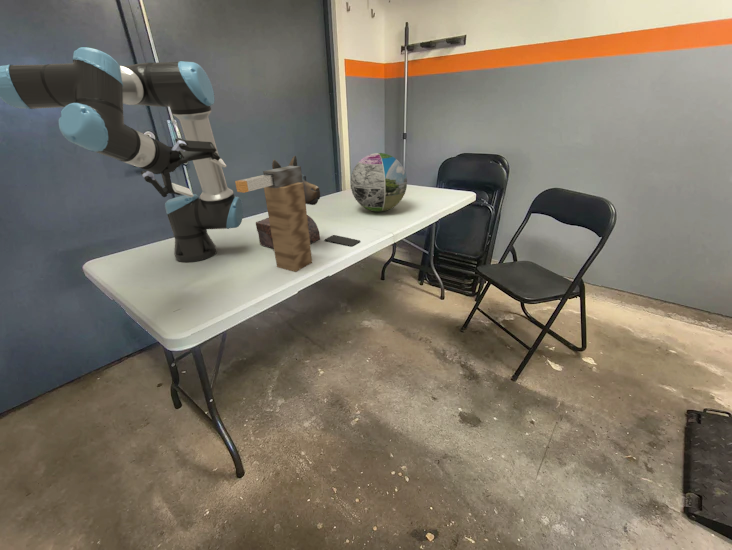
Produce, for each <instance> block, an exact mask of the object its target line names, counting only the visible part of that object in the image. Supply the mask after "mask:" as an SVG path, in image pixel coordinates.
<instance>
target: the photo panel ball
mask: <svg viewBox="0 0 732 550" xmlns="http://www.w3.org/2000/svg"><path fill="white" fill-rule="evenodd" d="M407 185H408V176H407V173H406V170H405V168H404V166H403V165H402V163H401V162H400V161H399V160H398V159H397V158H396V157H394V156H393V155H390V154H388V153H384V152H383V153H382V152H376V153H371V154H368V155H365V156H364V157H363V158H362V159H360V160H359V161H358V162H357V164H355V166H354V168H353V171H352V173H351V176H350V190H351V192H352V195H353V197H354V199H355V201H357V203H358V204H359V205H360V206H361V207H362V208H364V209H366V210H368V211H372V212H377V213H378V212H385V211H388V210H389V211H390V210H391V209H393V208H394V207H396V206H397V205H398V204H399V203H400V202H401V201H402V200H403V198H404V196H405V194H406V191H407Z"/></svg>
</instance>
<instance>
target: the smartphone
mask: <svg viewBox="0 0 732 550" xmlns="http://www.w3.org/2000/svg"><path fill="white" fill-rule="evenodd" d="M323 241H324V242H326V243H329V244H330V243H331V244H335V245H340V246H346V247H350V248H351V247H355V246H356V245H358V244H360V243H361V240H359V239H355V238H350V237H346V236H340V235H335V234H332V235H331V236H328V237H326V238H325V239H324V240H323Z"/></svg>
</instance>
